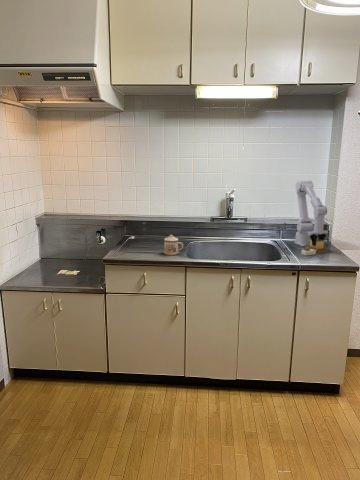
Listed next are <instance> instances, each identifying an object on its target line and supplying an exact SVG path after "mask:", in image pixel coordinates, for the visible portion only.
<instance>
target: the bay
mask: <svg viewBox="0 0 360 480" xmlns="http://www.w3.org/2000/svg"><path fill="white" fill-rule="evenodd" d="M300 254H301V255H304V256H311V255H312V256H313V255H316V254H317V253H316V250H313V249H310V250H306V249H301V252H300Z"/></svg>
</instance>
